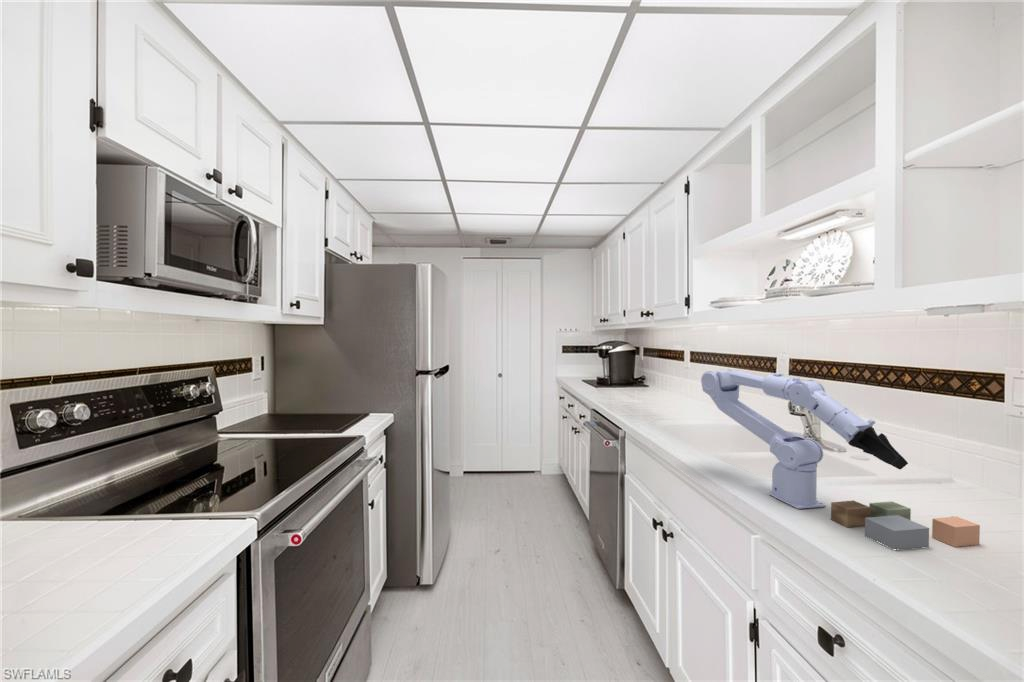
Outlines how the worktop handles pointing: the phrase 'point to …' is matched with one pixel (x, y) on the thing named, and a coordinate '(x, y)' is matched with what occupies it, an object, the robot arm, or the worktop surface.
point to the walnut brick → (850, 513)
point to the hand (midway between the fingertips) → (899, 464)
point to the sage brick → (889, 509)
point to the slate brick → (897, 532)
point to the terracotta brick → (955, 531)
